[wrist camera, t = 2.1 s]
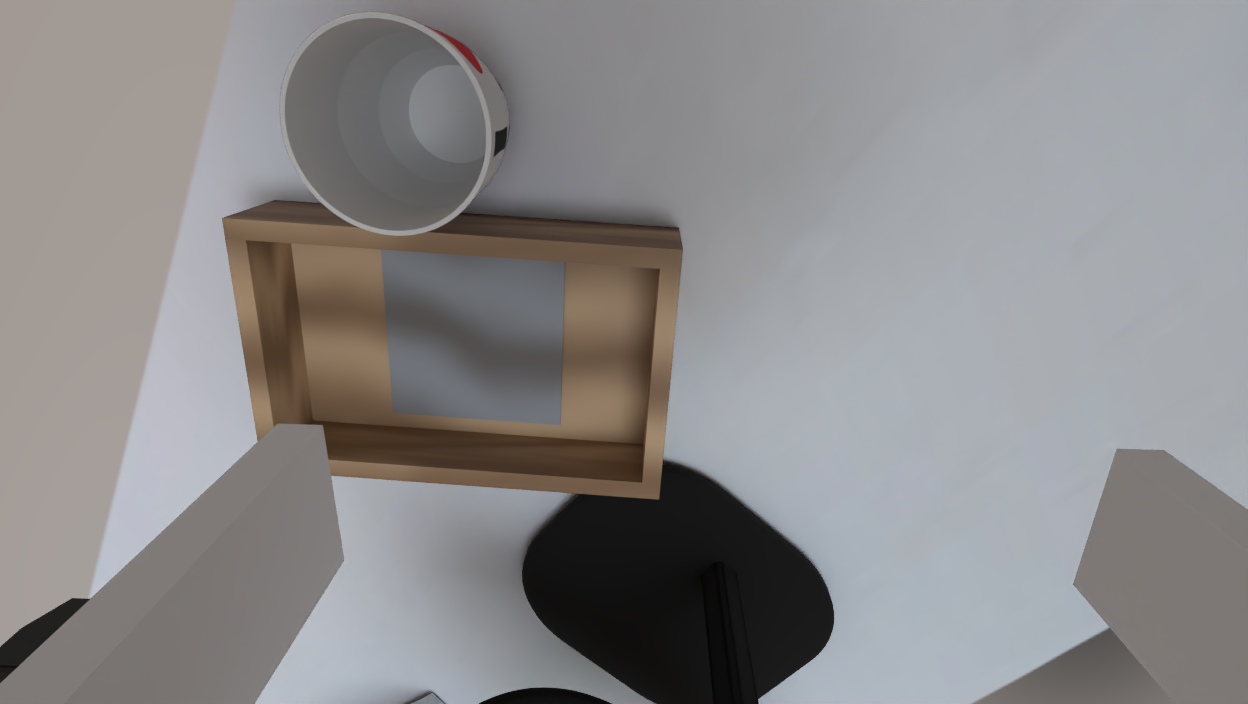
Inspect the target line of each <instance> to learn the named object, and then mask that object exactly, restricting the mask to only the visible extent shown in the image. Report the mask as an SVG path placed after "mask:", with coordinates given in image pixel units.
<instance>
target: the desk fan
mask: <svg viewBox="0 0 1248 704" xmlns="http://www.w3.org/2000/svg"><path fill="white" fill-rule="evenodd" d="M522 581H523V586H524V591H525V594H526V597H527V599H528V601H529V603H530V605H531V607H532V609H533V611H534V612H535V613H536V615H537V616H538V618H539V619H540V620H541V621H542V623H543V624H544V625H545V626H546V627H547V628H548V629H549V630H550V631H551V632H552V633H553V634H554V635H556V636H557V637H558V638H560V639H561V640H562V641H563V642H565V643H566V644H568V645H569V646H571V647H572V648H573V649H575V650H576V651H578V652H579V653H581V654H582V655H583V656H585V657H586V658H588V659H589V660H591V661H592V662H594V663H595V664H596V665H598V666H599V667H601V668H602V669H604V670H605V671H606V672H608V673H609V674H611V675H612V676H614V677H615V678H616V679H618V680H619V681H621V682H622V683H624V684H625V685H627V686H628V687H629V688H631V689H632V690H634V691H635V692H637V693H638V694H640V695H641V696H643V697H645V698H646V699H648V700H650V701H652V702H654V703H656V704H759V703H758V699H759V698H760V697H762V696H763V695H764V694H766V693H767V692H769V691H770V690H771V689H773V688H774V687H775V686H777V685H778V684H780V683H781V682H782V681H784V680H785V679H786V678H788V677H789V676H790V675H792V674H793V673H795V672H796V671H797V670H799V669H800V668H801V667H803V666H804V665H806V664H807V663H808V662H810V661H811V660H812V659H813V658H815V657H816V656H817V655H818V654H819V653H820V652H821V651H822V649H823V648H824V647H825V646H826V644H827V642H828V640H829V638H830V636H831V633H832V630H833V625H834V610H833V604H832V601H831V598H830V595H829V592H828V589H827V586H826V584H825V582H824V580H823V578H822V577H821V575H820V574H819V572H818V571H817V569H816V568H815V567H814V566H813V564H812V563H811V562H810V561H809V560H808V559H807V558H806V557H805V556H804V555H802V554H801V553H800V552H799V551H798V550H797V549H795V548H794V547H793V546H792V545H790V544H789V543H788V542H787V541H786V540H784V539H783V538H782V537H781V536H779V535H778V534H777V533H776V532H775V531H773V530H772V529H771V528H770V527H768V526H767V525H766V524H765V523H764V522H762V521H761V520H760V519H759V518H757V517H756V516H755V515H754V514H753V513H751V512H750V511H749V510H748V509H746V508H745V507H744V506H743V505H741V504H740V503H739V502H738V501H737V500H735V499H734V498H733V497H732V496H730V495H729V494H728V493H727V492H725V491H724V490H723V489H721V488H720V487H719V486H717V485H716V484H714V483H712V482H711V481H709V480H707V479H706V478H704V477H702V476H699V475H697V474H695V473H693V472H690V471H687V470H684V469H681V468H678V467H673V466H669V465H662V474H661V485H660V495H659V500H658V499H645V498H631V497H617V496H604V495H590V494H580V495H579V496H578V497H576V498H575V499H574V500H573V501H572V502H571V503H570V504H569V505H568V506H567V507H566V508H565V509H564V510H563V511H562V512H561V513H560V514H559V515H558V516H557V517H556V518H555V519H554V520H553V521H551V522H550V523H549V524H548V525H547V526H546V527H545V528H544V529H543V530H542V531H541V532H540V533H539V534H538V535H537V536H536V537H535V539H534V540H533V541H532V543H531V544H530V546H529V548H528V550H527V553H526V556H525V560H524V563H523V570H522ZM479 704H611V703H609V702H607V701H604V700H602V699H600V698H597V697H594V696H591V695H588V694H585V693H581V692H577V691H572V690H567V689H559V688H528V689H521V690H516V691H511V692H507V693H504V694H501V695H498V696H495V697H493V698H490V699H488V700H486V701H483V702H481V703H479Z"/></svg>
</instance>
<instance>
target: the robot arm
mask: <svg viewBox="0 0 1248 704" xmlns="http://www.w3.org/2000/svg"><path fill="white" fill-rule="evenodd" d="M343 561H344V555H343V549H342V543H341V536H340V530H339V524H338V517H337V511H336V505H335V499H334V492H333V486H332V480H331V474H330V467H329V461H328V455H327V448H326V442H325V436H324V430H323V425H306V424H276V425H275V426H274V427H273V428H272V429H271V430H270V431H269V432H268V433H267V434H266V435H265V436H264V437H263V438H262V439H260V440H259V441H258V442H257V443H256V444H255V445H254V446H253V447H252V448H251V449H250V450H249V451H248V452H247V453H246V454H244V455H243V456H242V457H241V458H240V459H239V460H238V461H237V462H236V463H235V464H234V465H233V466H232V467H231V468H230V469H228V470H227V471H226V472H225V473H224V474H223V475H222V476H221V477H220V478H219V479H218V480H217V481H216V482H215V483H214V484H212V485H211V486H210V487H209V488H208V489H207V490H206V491H205V492H204V493H203V494H202V495H201V496H200V497H199V498H198V499H196V500H195V501H194V502H193V503H192V504H191V505H190V506H189V507H188V508H187V509H186V510H185V511H184V512H183V513H182V514H180V515H179V516H178V517H177V518H176V519H175V520H174V521H173V522H172V523H171V524H170V525H169V526H168V527H167V528H166V529H164V530H163V531H162V532H161V533H160V534H159V535H158V536H157V537H156V538H155V539H154V540H153V541H152V542H151V543H150V544H148V545H147V546H146V547H145V548H144V549H143V550H142V551H141V552H140V553H139V554H138V555H137V556H136V557H135V558H133V559H132V560H131V561H130V562H129V563H128V564H127V565H126V566H125V567H124V568H123V569H122V570H121V571H120V572H119V573H117V574H116V575H115V576H114V577H113V578H112V579H111V580H110V581H109V582H108V583H107V584H106V585H105V586H104V587H103V588H101V589H100V590H99V591H98V592H97V593H96V594H95V595H94V596H93V597H92V598H91V599H76V598H75V599H74V598H72V599H70V600H69V601H67V602H65V603H63V604H62V605H60V606H58V607H57V608H55V609H53V610H52V611H50V612H48V613H46V614H45V615H43V616H41V617H40V618H38V619H36V620H35V621H33V622H31V623H30V624H28V625H26V626H25V627H23V628H21V629H20V630H19V631H18V632H17V633H15V634H14V635H13V636H12V637H11V638H10V639H9V640H8V641H6V642H5V643H4V644H3V645H2V646H1V647H0V704H255V702H256V700H257V699H258V697H259V696H260V694H261V692H262V691H263V689H264V688H265V686H266V684H267V683H268V681H269V680H270V678H271V676H272V675H273V673H274V672H275V670H276V668H277V667H278V665H279V664H280V662H281V660H282V659H283V657H284V656H285V654H286V652H287V651H288V649H289V648H290V646H291V644H292V643H293V641H294V640H295V638H296V636H297V635H298V633H299V632H300V630H301V628H302V627H303V625H304V624H305V622H306V620H307V619H308V617H309V616H310V614H311V612H312V611H313V609H314V607H315V606H316V604H317V603H318V601H319V599H320V598H321V596H322V595H323V593H324V591H325V590H326V588H327V587H328V585H329V583H330V582H331V580H332V579H333V577H334V575H335V574H336V572H337V571H338V569H339V567H340V566H341V564H342V563H343ZM1073 585H1074V586H1075V587H1076V588H1077V589H1078V591H1079V592H1080V593H1081V594H1082V595H1083V596H1084V598H1085V599H1086V600H1087V601H1088V602H1089V604H1090V605H1091V606H1092V607H1093V608H1094V609H1095V611H1096V612H1097V613H1098V614H1099V615H1100V616H1101V618H1102V619H1103V620H1104V621H1105V622H1106V623H1107V625H1108V626H1109V627H1110V628H1111V629H1112V630H1113V632H1114V633H1115V634H1116V635H1117V636H1118V637H1119V639H1120V640H1121V641H1122V642H1123V643H1124V644H1125V646H1126V647H1127V648H1128V649H1129V650H1130V652H1131V653H1132V654H1133V655H1134V656H1135V657H1136V659H1137V660H1138V661H1139V662H1140V663H1141V665H1142V666H1143V667H1144V668H1145V669H1146V670H1147V671H1148V673H1149V674H1150V675H1151V676H1152V677H1153V678H1154V680H1155V681H1156V682H1157V683H1158V684H1159V685H1160V687H1161V688H1162V689H1163V690H1164V691H1165V693H1166V694H1167V695H1168V696H1169V697H1170V699H1171V700H1172V701H1173V702H1174V703H1175V704H1248V509H1246V508H1245V507H1243V506H1242V505H1241V504H1239V503H1238V502H1236V501H1235V500H1233V499H1232V498H1231V497H1229V496H1228V495H1226V494H1225V493H1224V492H1222V491H1221V490H1219V489H1218V488H1217V487H1215V486H1214V485H1212V484H1211V483H1210V482H1208V481H1207V480H1205V479H1204V478H1203V477H1201V476H1200V475H1198V474H1197V473H1195V472H1194V471H1193V470H1191V469H1190V468H1188V467H1187V466H1186V465H1184V464H1183V463H1181V462H1180V461H1179V460H1177V459H1176V458H1174V457H1173V456H1172V455H1170V454H1169V453H1167V452H1166V451H1165V450H1140V449H1117V450H1116V453H1115V456H1114V459H1113V462H1112V465H1111V468H1110V471H1109V475H1108V478H1107V481H1106V484H1105V487H1104V490H1103V493H1102V496H1101V499H1100V502H1099V506H1098V509H1097V512H1096V515H1095V518H1094V521H1093V524H1092V527H1091V530H1090V533H1089V536H1088V540H1087V543H1086V546H1085V549H1084V552H1083V555H1082V558H1081V561H1080V564H1079V567H1078V571H1077V574H1076V577H1075V580H1074V583H1073Z"/></svg>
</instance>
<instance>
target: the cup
mask: <svg viewBox="0 0 1248 704" xmlns="http://www.w3.org/2000/svg"><path fill="white" fill-rule="evenodd" d="M280 123H281V130H282V135H283V139H284V143H285V146H286V149H287V152H288V154H289V157H290V159H291V161H292V164H293V166H294V168H295V169H296V171H297V173H298V175H299V176H300V178H301V179H302V181H303V182H304V184H305V185H306V186H307V188H308V189H309V190H310V191H311V193H312V194H313V195H314V196H315V197H316V198H317V199H318V200H319V201H320V202H321V203H322V204H323V205H324V206H325V207H327V208H328V209H329V210H330V211H332V212H333V213H334V214H336V215H337V216H339V217H340V218H342V219H343V220H345V221H347V222H349V223H351V224H353V225H355V226H357V227H359V228H362V229H365V230H368V231H371V232H375V233H379V234H384V235H394V236H406V235H415V234H420V233H424V232H428V231H431V230H434V229H436V228H438V227H440V226H442V225H444V224H446V223H448V222H449V221H451V220H452V219H454V218H455V217H456V216H457V215H459V214H460V213H461V212H462V211H463V210H464V209H465V208H466V207H467V206H468V205H469V204H470V203H471V202H472V201H473V199H474V198H475V197H476V196H477V195H478V194H479V193H480V192H481V191H482V190H483V189H484V188H485V187H486V186H487V184H488V183H489V182H490V181H491V179H492V178H493V176H494V175H495V173H496V171H497V169H498V167H499V165H500V163H501V160H502V157H503V154H504V151H505V147H506V144H507V140H508V135H509V127H510V119H509V110H508V105H507V101H506V98H505V95H504V93H503V90H502V88H501V86H500V84H499V83H498V81H497V79H496V78H495V76H494V75H493V74H492V72H491V71H490V70H489V69H488V68H487V67H486V66H485V65H484V63H483V62H482V61H481V60H480V59H479V58H478V57H477V56H476V55H475V54H474V53H473V52H472V51H471V50H470V49H468V48H467V47H466V46H465V45H463V44H462V43H460V42H459V41H457V40H456V39H454V38H452V37H450V36H448V35H446V34H444V33H442V32H439V31H437V30H434V29H432V28H430V27H427V26H425V25H422V24H420V23H418V22H415V21H413V20H410V19H408V18H405V17H402V16H398V15H394V14H389V13H382V12H361V13H354V14H349V15H345V16H342V17H339V18H337V19H334V20H332V21H330V22H328V23H326V24H325V25H323V26H321V27H320V28H318V29H317V30H316V31H314V32H313V33H312V34H311V35H310V36H309V37H308V38H307V39H306V40H305V41H304V42H303V43H302V44H301V46H300V47H299V48H298V50H297V51H296V53H295V54H294V56H293V58H292V59H291V61H290V63H289V66H288V68H287V70H286V73H285V76H284V80H283V83H282V88H281V94H280Z"/></svg>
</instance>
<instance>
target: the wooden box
mask: <svg viewBox="0 0 1248 704" xmlns="http://www.w3.org/2000/svg"><path fill="white" fill-rule="evenodd" d="M222 221H223V227H224V233H225V240H226V246H227V252H228V259H229V265H230V271H231V277H232V284H233V290H234V296H235V302H236V309H237V315H238V321H239V327H240V334H241V340H242V346H243V352H244V359H245V365H246V371H247V377H248V384H249V390H250V396H251V402H252V409H253V415H254V421H255V427H256V434H257V440H258V441H259V440H260V439H262V438H263V437H264V436H265V435H266V434H267V433H268V432H269V431H270V430H271V429H272V428H273V427H274V426H275V425H276V424H306V425H323V430H324V436H325V442H326V448H327V455H328V461H329V467H330V474H331V476H345V477H358V478H372V479H385V480H399V481H413V482H426V483H440V484H454V485H467V486H481V487H495V488H508V489H522V490H536V491H549V492H563V493H576V494H590V495H604V496H617V497H631V498H645V499H658V500H659V495H660V485H661V474H662V464H663V453H664V443H665V432H666V422H667V411H668V401H669V390H670V379H671V369H672V358H673V348H674V337H675V327H676V316H677V306H678V295H679V285H680V274H681V264H682V253H683V248H682V242H681V237H680V231H679V228H673V227H659V226H644V225H630V224H615V223H600V222H586V221H571V220H557V219H542V218H527V217H513V216H498V215H484V214H469V213H460V214H459V215H457V216H456V217H455V218H454V219H452V220H451V221H449V222H448V223H446V224H444V225H442V226H440V227H438V228H436V229H434V230H431V231H428V232H424V233H420V234H415V235H406V236H394V235H384V234H379V233H375V232H371V231H368V230H365V229H362V228H359V227H357V226H355V225H353V224H351V223H349V222H347V221H345V220H343V219H342V218H340V217H339V216H337V215H336V214H334V213H333V212H332V211H330V210H329V209H328V208H327V207H325V206H324V205H323V204H322V203H308V202H294V201H279V200H275V201H272V202H269V203H266V204H263V205H260V206H257V207H254V208H251V209H248V210H245V211H242V212H239V213H236V214H233V215H230V216H227V217H224V218H222Z"/></svg>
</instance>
